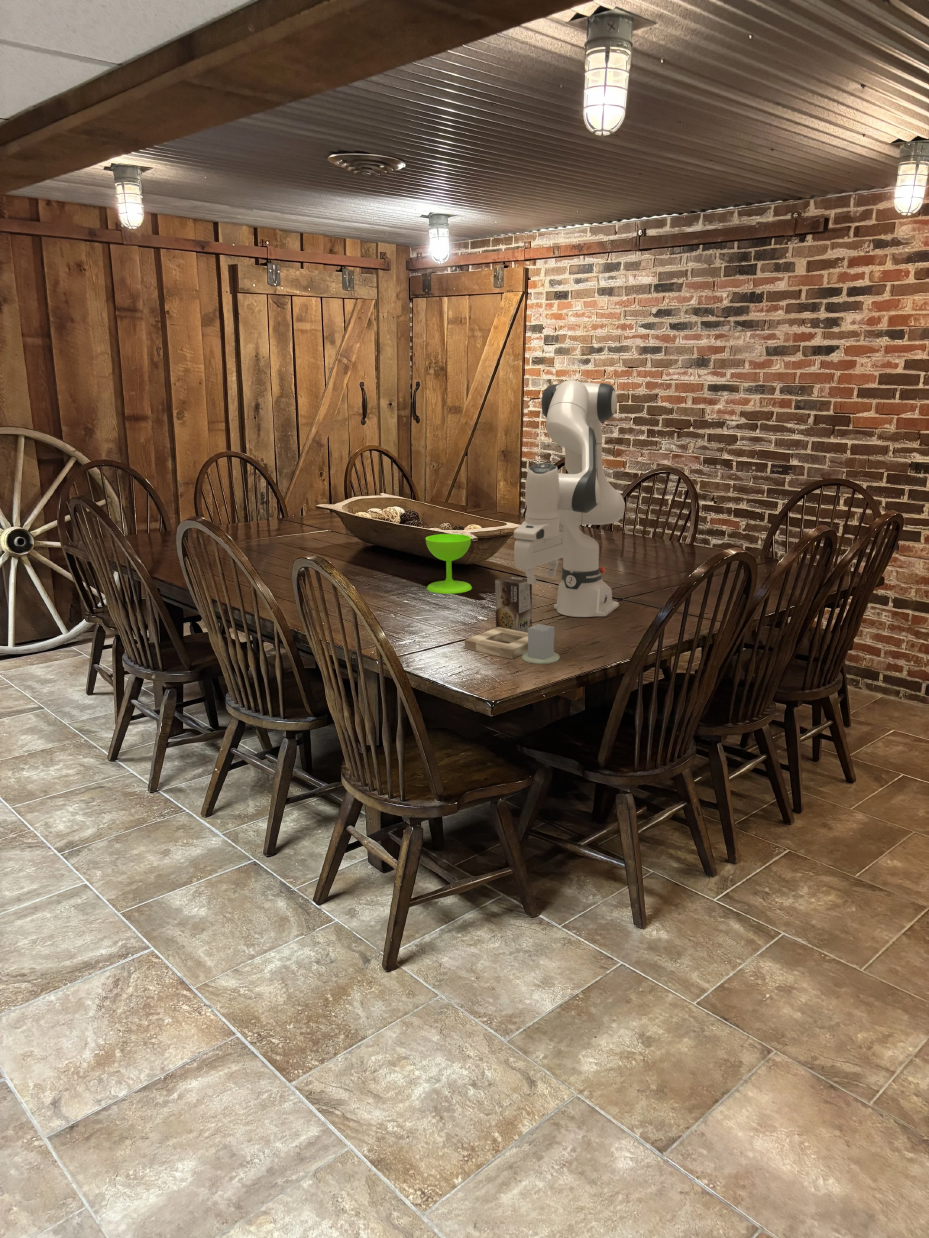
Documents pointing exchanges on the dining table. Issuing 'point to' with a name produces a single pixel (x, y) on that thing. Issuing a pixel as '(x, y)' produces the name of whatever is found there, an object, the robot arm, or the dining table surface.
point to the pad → (538, 661)
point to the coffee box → (513, 603)
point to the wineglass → (448, 560)
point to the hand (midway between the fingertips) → (541, 579)
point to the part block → (541, 641)
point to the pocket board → (493, 646)
